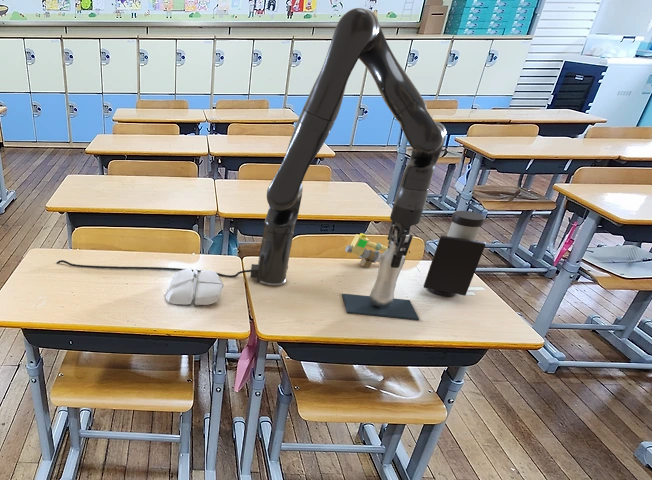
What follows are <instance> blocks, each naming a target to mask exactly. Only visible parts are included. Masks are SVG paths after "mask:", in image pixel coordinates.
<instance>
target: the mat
mask: <svg viewBox="0 0 652 480" xmlns="http://www.w3.org/2000/svg"><path fill="white" fill-rule="evenodd" d="M341 297H342V299H343V303H344V307H345V311H346V313H347V314H353V315H363V316H370V317H371V316H372V317H381V318H391V319H400V320H401V319H402V320H412V321H419V320H420V318H419V316H418V314H417V312H416V310H415V308H414V306H413V304H412V302H411V301H410V299H403V298H394V299H393V302H392V303H391V305H389V306H388V307H378V306H375V305H373V304H371V302H370V300H369V298H370V295H361V294H351V293H342V294H341Z"/></svg>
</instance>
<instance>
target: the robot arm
mask: <svg viewBox="0 0 652 480" xmlns="http://www.w3.org/2000/svg"><path fill="white" fill-rule="evenodd" d="M358 61H361V63H362V64H363V65H364V66H365V68H366V70H368V72H369V74H370V75H371V77H372V78H373V80H374V82H375V85H376V87H377V89H378V91H379V94H380V95H381V98H382V99H383V102H384V103H385V105H386V106H387V108H388V109H389V110H390V112H391V114H392V115H393V117H394V118H395V120H396V121H397V122H398V123H399V126H400V128H401V130H402V132H403V134H404V136H405V138H406V141H407V142H408V144H409V146H410V147H411V150H412V151H411V154H410V158H409V160H408V162H407V164H406V166H405V168H404V171H403V173H402V177H401V181H400V185H399V187H398V190H397V192H396V194H395V198H394V202H393V206H392V209H391V211H390V212H391V213H390V215H389V219H390V221H391V223H390V227H389V232H388V234H387V244H388V246H387V247H388V249H389V248H390V247H389V244H390V242H391V240H392V239H394V243H393V245H394V246H395V250H394V255H393V258H392V261H391V265H390V266H391V267H392V268H398V267H399V266H400V262H401V259H402V256H405V257H406V256H407V255H408V252H409V248H410V246H411V243H412V240H413V238H414V237H413V236H414V235H411V231H412V230H411V227H412V226H415V225H418V224H419V223H420V221H421V218H422V215H423V212H424V209H425V206H426V203H427V199H428V194H429V189H430V186H431V183H432V179H433V176H434V174H435V173H434V172H435V168H436V165H437V163H438V161H439V158H440V155H441V153H442V151H443V148H444V145H445V142H446V139H447V130H446V127H445V126H444V124H442V123H441V122H440V121H434V119H433V118H432V115H431V114H430V112H429V111H428V109H427V103H426V101H425V99H424V98H423V96H422V94H421V93H420V92H419V90H418V88H417V87H416V86H415V83H413V81H412V79H411V78H410V77H409V75H408V74H407V72H405V70H404V69H403V67H402V66H401V65H400V63H399V61H398V59H397V58H396V57H395V55H394V53H393V51H392V50H391V47H390V45H389V43H388V40H387V38H386V37H385V35H384V32H383V29H382V27H381V24H380V22H379V19H378V17H377V15H376V14H375V13H374V12H373V11H371V10H369V9H366V8H362V7H355V8H352V9H349V10H348V11H347V12H345V13H344V14H343V15H342V16H341V18H340V19H339V20H338V22H337V24H336V26H335V29H334V32H333V35H332V38H331V42H330V44H329V47H328V49H327V53H326V56H325V58H324V62H323V65H322V67H321V70H320V71H319V73H318V76H317V78H316V80H315V82H314V84H313V86H312V88H311V90H310V92H309V94H308V97H307V99H306V100H305V103H304V105H303V107H302V110H301V112H300V114H299V117H298V119H297V122H296V123H295V127H294V130H293V132H292V134H291V137H290V140H289V143H288V146H287V149H286V152H285V155H284V158H283V160H282V162H281V164H280V165H279V168H278V169H277V171H276V173H275V175H274V177H273V179H272V180H271V182H270V183H269V185H268V188H267V190H266V200H267V204H268V210H267V214H266V216H265V220H264V224H263V231H262V237H261V242H260V243H261V244H260V249H259V254H258V255H259V256H258V261H257V264H256V263H255V264H254V263H251V266H250V269H244V270H240V271H238V272H237V273H235V274H232V275H229V274H227V275H226V274H223V273H220V272H216V273H217V275H218V276H219V277H223V278H237V277H238V276H239V275H241V274H245V273H250V278H251V279H255V280H256V281H255V282H256V283H257V284H262V285H265V286H269V287H279V286H282V285H285V283H286V280H287V273H288V269H289V261H290V255H291V250H292V244H293V238H294V235H295V234H294V233H295V227H296V225H297V221H298V217H299V212H300V207H301V202H302V197H303V181H304V178H305V176H306V174H307V171H308V170H309V167H310V166H311V164H312V162H313V161H314V160H315V158H316V157H317V155H318V154H319V152H320V150H321V149H322V147H323V146H324V144H325V142H326V140H327V138H328V137H329V135H330V133H331V131H332V128H333V127H334V125H335V123H336V120H337V119H338V116H339V113H340V111H341V108H342V107H341V106H342V104H343V100H344V95H345V92H346V88H347V84H348V81H349V79H350V76H351V74H352V72H353V70H354V68H355V66H356V65H357V63H358ZM397 242H400V243H397ZM401 248H402V251H400V249H401ZM60 263H64V264H65V265H69V266H70V267H76V268H88V269H90V268H92V269H111V270H112V269H113V270H114V269H115V270H116V269H118V270H161V271H164V270H165V271H177V272H178V271H180V270H184V269H185V268H181V267H180V268H179V267H164V266H163V267H162V266H118V265H117V266H112V265H109V266H108V265H91V264H89V265H88V264H75V263H72V262H69V261H66V260H63V259H60V260H58V261H56V263H55V264H56V265H59V264H60ZM191 270H192V272H193V270H194V269H192V268H191ZM197 271H198V273H200V272H201V271H202V269H201V270H200V269H197Z"/></svg>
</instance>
